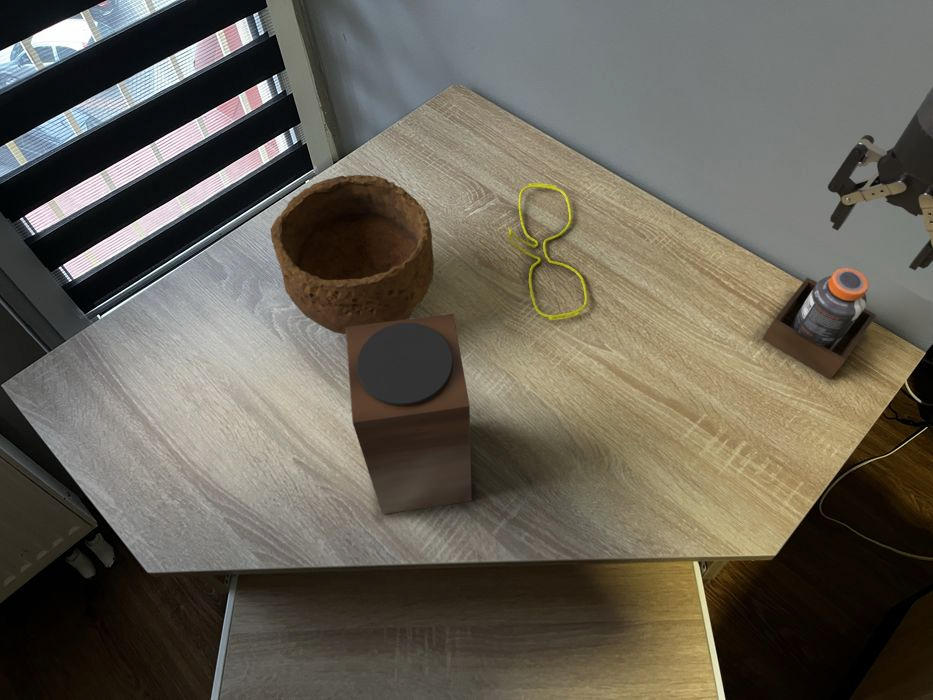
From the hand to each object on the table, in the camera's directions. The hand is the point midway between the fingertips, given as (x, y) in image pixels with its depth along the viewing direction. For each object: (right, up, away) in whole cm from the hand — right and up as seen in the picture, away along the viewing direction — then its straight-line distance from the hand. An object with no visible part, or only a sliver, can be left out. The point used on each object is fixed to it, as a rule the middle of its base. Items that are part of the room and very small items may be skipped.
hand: (875, 244), depth 75 cm
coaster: (-49, -13, -13) cm, 53 cm away
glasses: (-33, +2, +23) cm, 41 cm away
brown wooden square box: (0, -10, +15) cm, 17 cm away
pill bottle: (0, -10, +15) cm, 18 cm away
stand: (-49, -25, +5) cm, 55 cm away
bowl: (-57, -5, +19) cm, 60 cm away
